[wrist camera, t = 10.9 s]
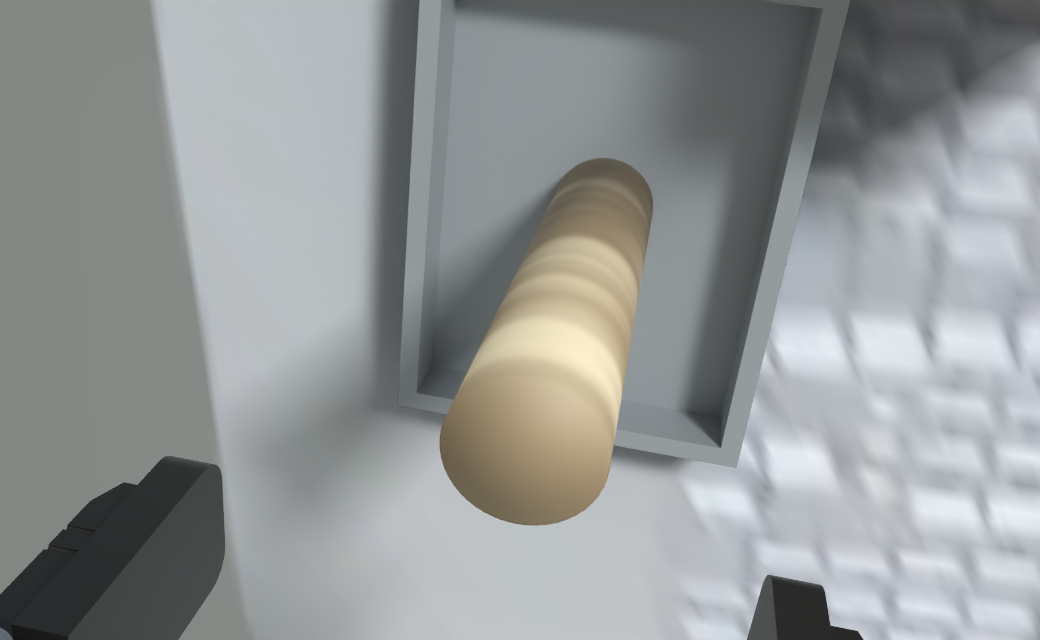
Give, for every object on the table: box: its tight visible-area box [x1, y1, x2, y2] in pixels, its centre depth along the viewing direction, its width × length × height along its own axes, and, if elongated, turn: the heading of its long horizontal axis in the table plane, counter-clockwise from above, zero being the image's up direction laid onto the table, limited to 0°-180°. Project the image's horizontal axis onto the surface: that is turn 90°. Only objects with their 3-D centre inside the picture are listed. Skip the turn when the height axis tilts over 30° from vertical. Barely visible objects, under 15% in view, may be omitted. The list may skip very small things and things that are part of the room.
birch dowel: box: [440, 158, 653, 525], centre depth 23 cm, size 3×3×14 cm
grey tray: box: [398, 0, 850, 468], centre depth 28 cm, size 14×11×2 cm
